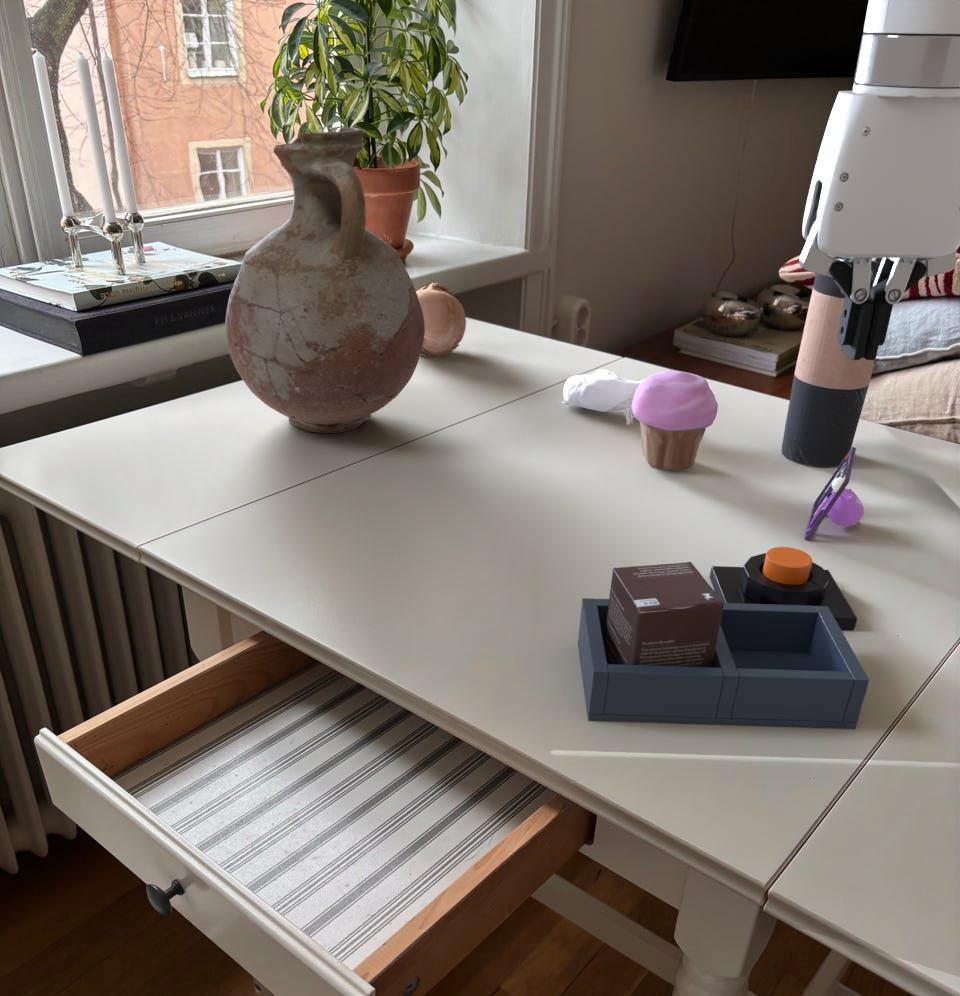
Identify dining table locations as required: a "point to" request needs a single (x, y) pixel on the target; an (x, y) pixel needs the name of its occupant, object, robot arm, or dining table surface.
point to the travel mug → (825, 384)
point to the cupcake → (673, 417)
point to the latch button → (787, 565)
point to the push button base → (781, 589)
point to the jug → (324, 299)
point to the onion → (441, 320)
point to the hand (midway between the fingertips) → (857, 354)
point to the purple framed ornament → (837, 499)
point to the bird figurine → (601, 392)
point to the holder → (733, 673)
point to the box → (662, 617)
